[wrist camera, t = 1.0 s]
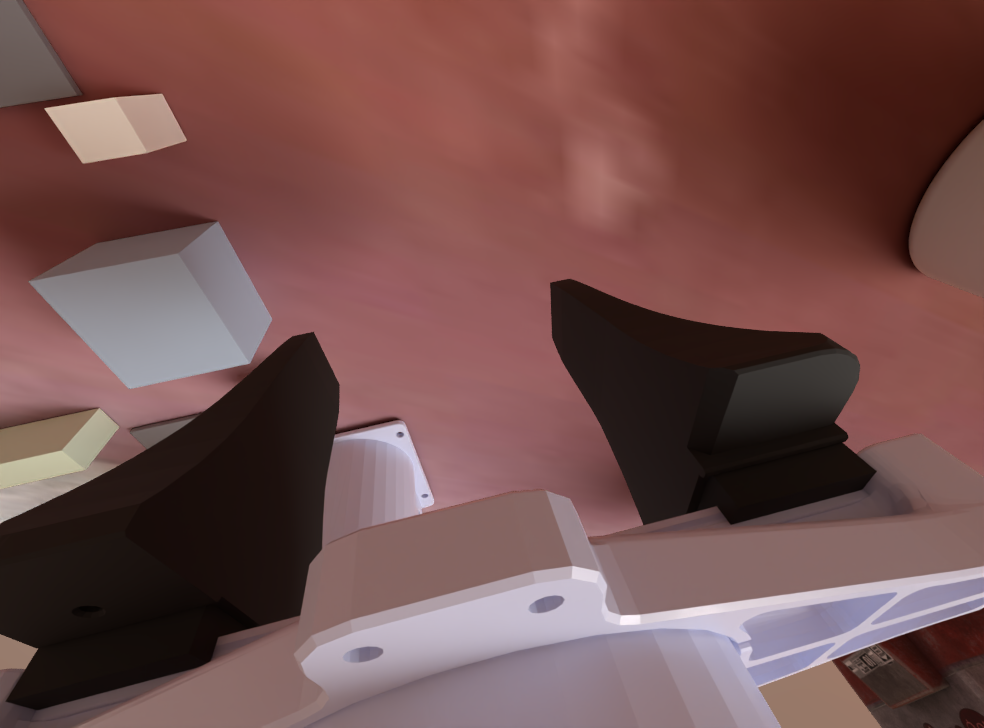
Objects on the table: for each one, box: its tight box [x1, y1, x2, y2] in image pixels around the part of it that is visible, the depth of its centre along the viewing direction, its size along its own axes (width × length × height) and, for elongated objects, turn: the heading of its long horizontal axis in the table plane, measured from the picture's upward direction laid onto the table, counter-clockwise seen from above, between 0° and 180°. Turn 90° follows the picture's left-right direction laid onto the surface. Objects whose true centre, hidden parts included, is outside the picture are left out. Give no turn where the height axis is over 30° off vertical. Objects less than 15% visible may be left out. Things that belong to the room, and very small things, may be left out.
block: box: [28, 221, 272, 389], centre depth 17 cm, size 5×5×4 cm
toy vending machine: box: [832, 608, 984, 728], centre depth 28 cm, size 9×11×28 cm
